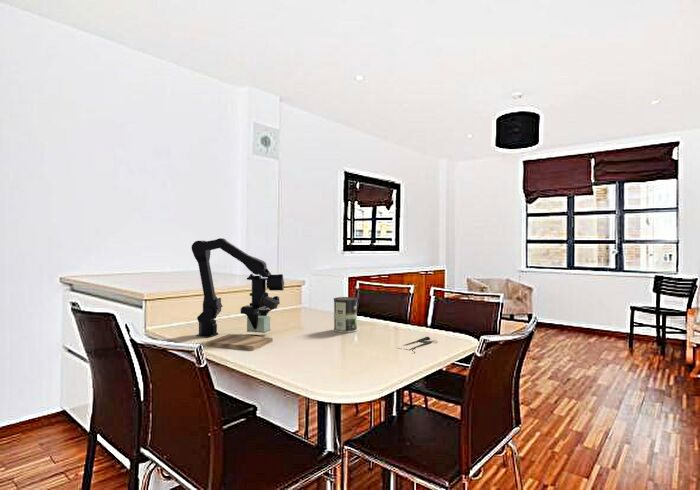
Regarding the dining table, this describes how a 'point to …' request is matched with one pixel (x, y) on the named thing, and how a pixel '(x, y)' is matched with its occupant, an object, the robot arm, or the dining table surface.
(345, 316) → the coffee can
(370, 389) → the dining table surface
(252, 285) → the robot arm
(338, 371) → the dining table surface
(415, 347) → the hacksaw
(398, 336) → the dining table surface
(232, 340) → the oak board
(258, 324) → the block
